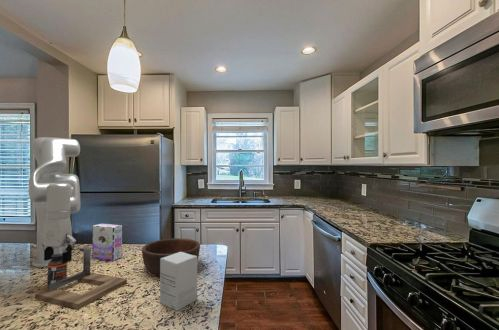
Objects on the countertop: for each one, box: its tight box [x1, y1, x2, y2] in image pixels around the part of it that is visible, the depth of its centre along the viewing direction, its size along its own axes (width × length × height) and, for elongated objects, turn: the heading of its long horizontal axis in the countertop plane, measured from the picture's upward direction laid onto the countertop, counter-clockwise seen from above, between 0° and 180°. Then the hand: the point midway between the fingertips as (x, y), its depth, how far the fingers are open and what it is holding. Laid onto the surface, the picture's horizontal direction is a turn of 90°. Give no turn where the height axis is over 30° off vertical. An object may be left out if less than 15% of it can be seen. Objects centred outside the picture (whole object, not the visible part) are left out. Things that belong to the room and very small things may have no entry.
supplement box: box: [159, 252, 198, 311], centre depth 87 cm, size 9×9×15 cm
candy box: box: [91, 223, 123, 262], centre depth 129 cm, size 14×6×16 cm, turn 71°
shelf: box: [34, 247, 128, 310], centre depth 95 cm, size 22×20×12 cm
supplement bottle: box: [46, 254, 68, 286], centre depth 99 cm, size 6×6×11 cm
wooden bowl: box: [141, 237, 201, 277], centre depth 116 cm, size 25×25×10 cm
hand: (57, 260), depth 99 cm, fingers open, 9 cm apart
